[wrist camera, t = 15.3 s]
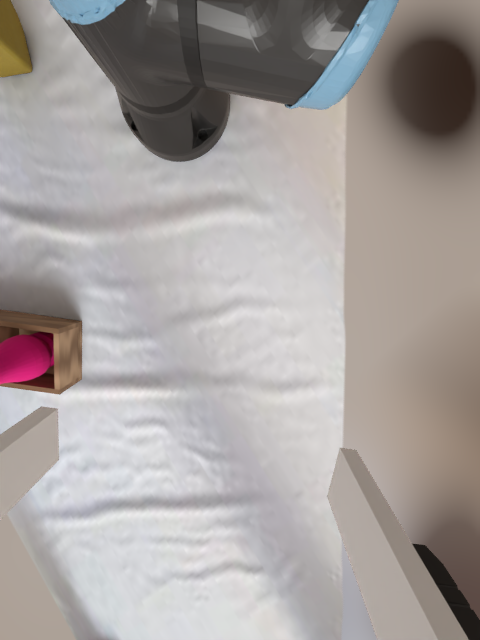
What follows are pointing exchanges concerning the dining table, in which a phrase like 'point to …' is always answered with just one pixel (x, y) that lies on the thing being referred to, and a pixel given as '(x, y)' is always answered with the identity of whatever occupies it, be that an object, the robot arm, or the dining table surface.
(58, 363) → the caddy
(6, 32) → the flower pot
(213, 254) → the dining table surface
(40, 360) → the pepper mill
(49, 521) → the dining table surface
